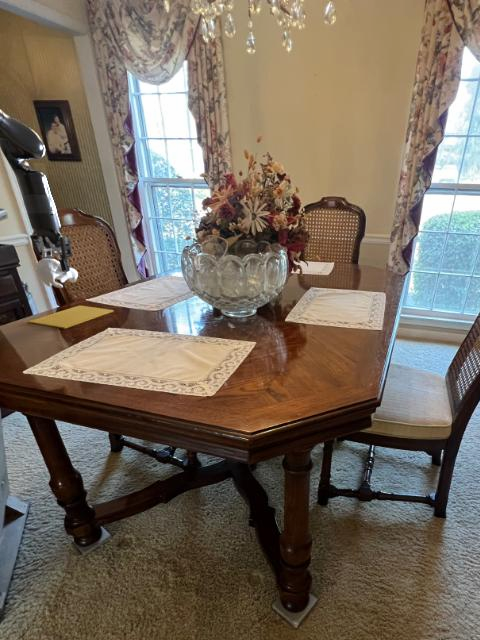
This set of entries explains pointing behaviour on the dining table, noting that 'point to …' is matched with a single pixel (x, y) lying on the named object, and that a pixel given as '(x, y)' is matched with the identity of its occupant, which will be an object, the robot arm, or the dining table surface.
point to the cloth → (71, 316)
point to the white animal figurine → (54, 272)
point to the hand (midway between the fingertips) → (59, 270)
